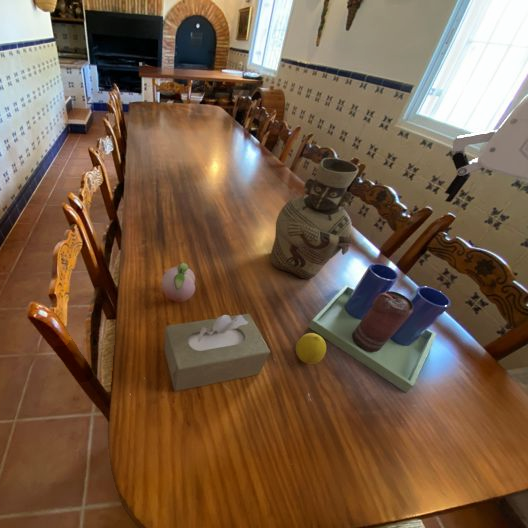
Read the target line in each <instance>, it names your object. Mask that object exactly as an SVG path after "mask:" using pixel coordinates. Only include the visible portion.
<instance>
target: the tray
mask: <svg viewBox="0 0 528 528" xmlns="http://www.w3.org/2000/svg"><path fill="white" fill-rule="evenodd" d="M354 289H355V287H353V286H351V285H349V284H347V283H346V284H345V285H343V287H342V288H341V289H340V290H339V291H338V292H337V293H336V294H335V295H334V296H333V297H332V298H331V299H330V301H329V302H328V303H327V304H326V305H325V306H324V307H323V308H322V309H321V310H320V311H319V312H318V313H317V315H315V317H313V318H312V320H311V321H310V324H308V328H310V329H311V330H312V331H314V332H315V333H316V334H317V335H319V336H321V337H322V338H323V339H326V340H327V341H329V342H330V343H331V344H333V345H335V346H336V347H338V348H339V349H341V350H342V351H343V352H345V353H346V354H348V355H349V356H351V357H353V358H354V359H355V360H357V361H358V362H360V363H361V364H363V365H364V366H366V367H368V368H369V369H370V370H372V371H373V372H375V373H376V374H378V375H379V376H381V377H382V378H383V379H385V380H387V381H388V382H390V383H391V384H393V386H395V387H397V388H399V389H400V390H401V391H403V392H405V393H407V392H409V391H410V390H411V389H412V388H413V387H414V386H415V384H416V381H417V380H418V377H419V375H420V373H421V371H422V368H423V366H424V363H425V362H426V359H427V357H428V354H429V353H430V351H431V348H432V346H433V344H434V341H435V339H436V337H437V334H438V333H436V332H434V331H433V330H431V329H429V328H428V329H427V330H426V331H425V332H424V333H423V334H422V335H421V336H420V337H419V338H418V339H417V340H416V341H415V342H414V343H413V344H412V345H410V346H403V345H400V344H397V343H395V342H394V341H392V340H391V339H389V340H388V341H387V342H386V343H385V344H384V346H383V347H382V348H381V349H380V350H379V351H377V352H368V351H365V350H362V349H361V348H359V347H358V346H357V345H356V344H355V342H354V341H353V338H352V333H353V332H354V330H355V329H356V328H357V326H358V325H359V323H360V322H361V321H362V320H359V319H356V318H354V317H352V316H351V315H349V314H348V313H347V312H346V310H345V308H344V305H345V303H346V302H347V300H348V298H349V297H350V295H351V294H352V292H353V291H354Z"/></svg>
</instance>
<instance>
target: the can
mask: <svg viewBox="0 0 528 528" xmlns="http://www.w3.org/2000/svg"><path fill="white" fill-rule="evenodd" d="M372 305H373V306H372V307H371V308H370V310H369V311H368V313H367V314H366V315H365V317H364V318H363V319H362V321H361V322H360V323H359V325H358V326H357V328H356V329H355V330H354V332H353V333H352V338H353V341H354V342H355V344H356V345H357V346H358V347H359V348H361V349H362V350H365V351H368V352H377V351H379V350H380V349H381V348H382V347H383V346H384V344H385V343H386V342H387V341H388V340H389V339H390V338H391V336H392V335H393V334H394V333H395V332H396V331H397V330H398V328H399V327H400V326H401V325H402V324H403V323H404V322H405V320H406V319H407V318H408V317H409V316H410V315H411V313H412V312H413V304H412V302H411V301H410V300H409V298H408V297H407V296H405V295H404V294H402V293H401V292H400V293H399V292H397V291H392V290H389V291H387V292H385V293H381V294H379V295H378V296H377V298H376V299H375V300H374V302H373V304H372Z"/></svg>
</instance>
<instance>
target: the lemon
mask: <svg viewBox="0 0 528 528" xmlns="http://www.w3.org/2000/svg"><path fill="white" fill-rule="evenodd" d="M326 352H327V344H326V341H325V338H324V337H323V336H321V335H320V334H318V333H314V332H309V333H306V334H304V335H302V336H301V337H300V338H299V339H298V340H297V342H296V345H295V353H296V356H297V357H298V359H299V360H300V361H301V362H302V363H305V364H307V365H314V364H317V363H320V362H321V361H322V360H323V359H324V357H325V355H326Z"/></svg>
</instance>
